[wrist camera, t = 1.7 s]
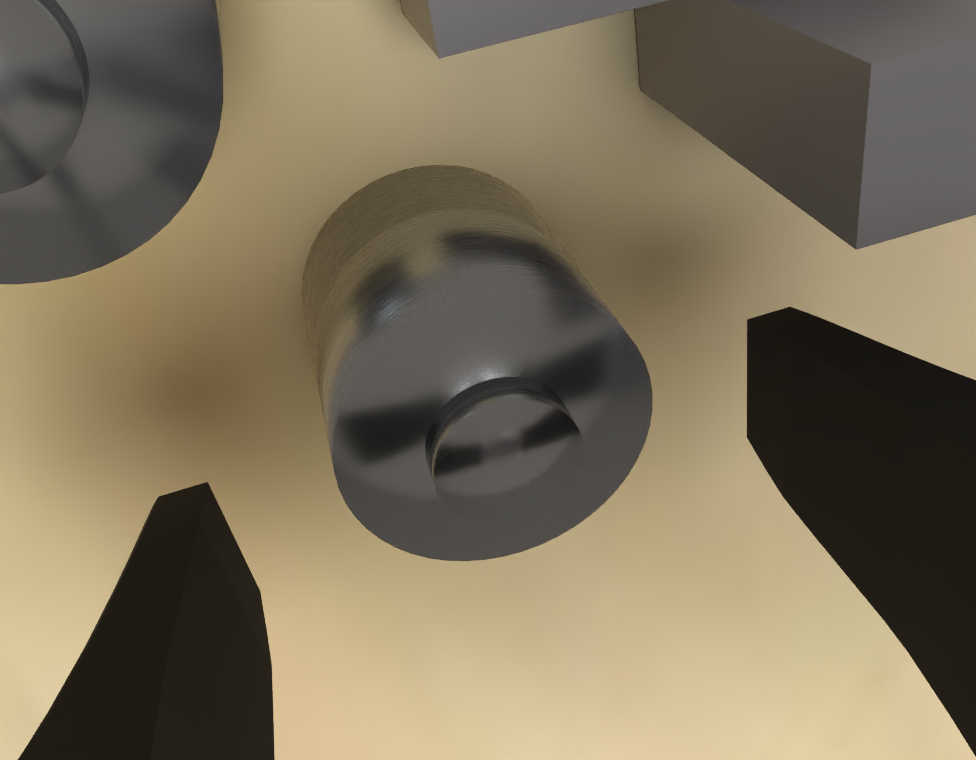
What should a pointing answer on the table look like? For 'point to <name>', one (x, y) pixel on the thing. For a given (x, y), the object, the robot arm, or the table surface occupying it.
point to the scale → (792, 92)
